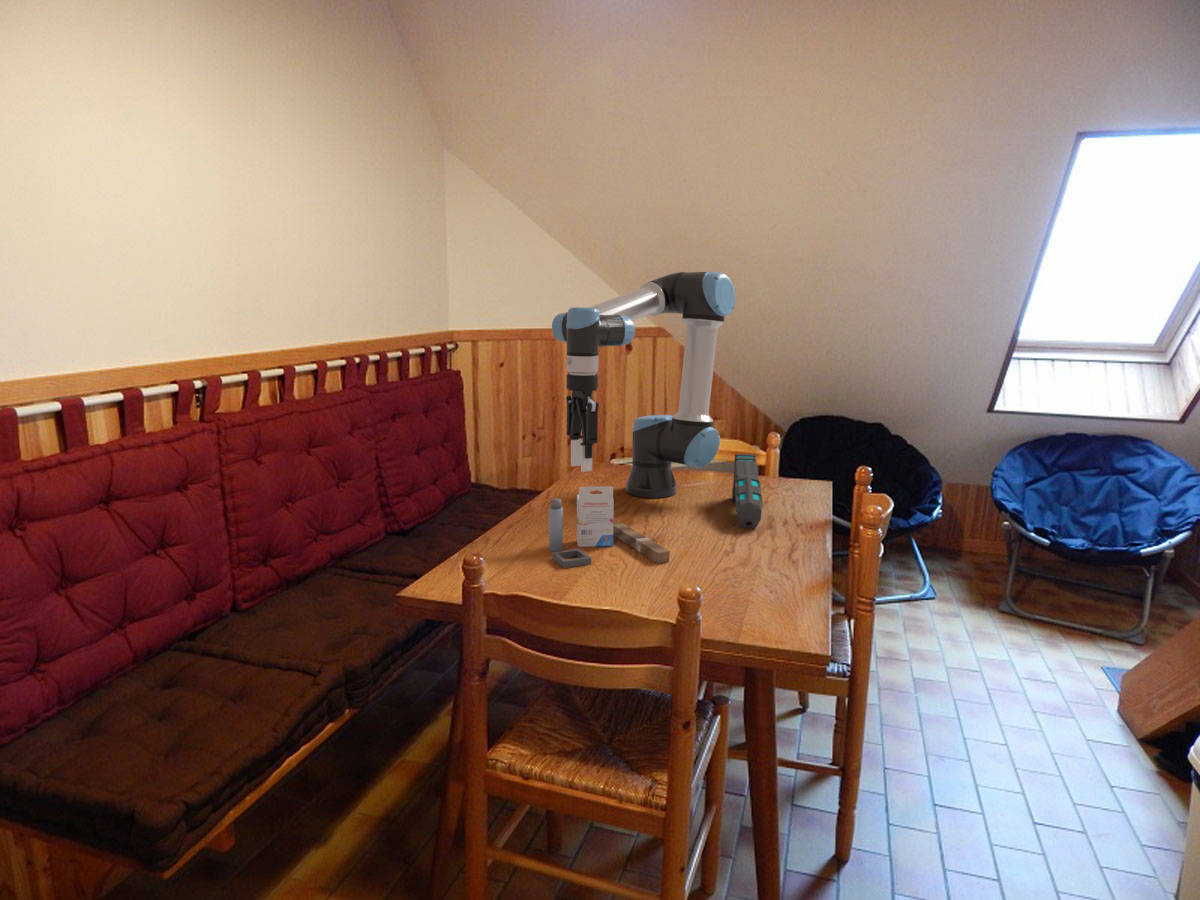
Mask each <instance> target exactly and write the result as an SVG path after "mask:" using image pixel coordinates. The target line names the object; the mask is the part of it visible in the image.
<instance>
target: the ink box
mask: <svg viewBox="0 0 1200 900" xmlns="http://www.w3.org/2000/svg"><path fill="white" fill-rule="evenodd" d="M595 491H597V492H601V493H591V492H595ZM614 503H615V501H614V487H613V486H612V485H611V486H606V485H605V486H602V485H601V486H580V487H579V488H578V494H576V543H577V547H579V548H583V547H584V548H585V547H586V548H587V547H592V548H594V547H613V546H614V535H613V522H614V506H615V505H614Z"/></svg>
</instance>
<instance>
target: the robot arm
mask: <svg viewBox="0 0 1200 900" xmlns="http://www.w3.org/2000/svg"><path fill="white" fill-rule="evenodd" d="M735 304H736V291H735V287H734V284H733V283H732V280H731V279H730V278H729V276H728V275H726V274H725V273H723V272H715V271H692V272H691V271H678V272H674V273H670V274H667V275H662V276H659V278H655V279H653V280H650V281H647V282H645V283H643V284H642V285H641V286H640V288H639V289H638V288H637V289H636V290H633V291H631V292H628V293H625V294H622V295H620V296H617V297H614V298H610V299H608V300H605V301H603V302H600V303H597V304H594V305H592V306H588V307H585V306H584V307H582V306H581V307H570V308H568V310H567V312H560V313H558V314H557V315H555V316H554V318H553V319H552V323H551V332H552V335H553V337H554V338H555V339H556V340H557V341H558V342H562V343H566V359H565V361H564V362H565V364H566V371H567V373H568V374H566V383H565V384H566V389H567V390H569V391H571V395H567V396H566V398H565V400H566V435H567V436H569V440H570V467H579V466H580V472H581V473H583V472H584V473H585V472H592V471H593V453H594V452H593V450H594V447H593V445H594V444H595V445H596V444H598V439H599V438H598V435H599V433H598V432H599V431H598V428H599V427H598V425H599V424H598V417H599V416H598V413H599V406H600V405H599V402H598V401H596V402H594V397H593V391H597V390H598V388H599V375H598V374H597V373H598V372H599V348H602V347H621V346H625V345H629V344H630V343H631V342H632V341H633V339H634V338H635V335H636V333H635V331H636V330H635V329H636V327H635V323H634V321H636V320H637V321H638V320H639V319H641V318H644V317H647V316H652V317H654V316H659V315H661V314H662V315H663V314H681V315H682V318H681V319H682V321H683V323H684V324H685V326H686V334H685V340H684V341H685V343H684V344H685V345H684V353H683V361H682V362H683V364H682V371H681V383H680V390H679V392H680V393H679V402H678V410H677V411H676V413H675V414H674V415H671V414H655V415H654V414H652V415H645V416H644V415H643V416H639V417H637V418H635V420H634V422H633V428H632V457H631V458H632V459H631V460H632V464H631V469H630V470H629V471H630V472H629V475H628V476H627V481H626V483H625V492H626V493H627V494H628V495H631V496H635V497H639V498H647V499H648V498H649V499H650V498H651V499H659V498H668V497H672V496H674V495H675V494H677V483H676V480H675V475H674V471H673V469H672V464H673V463H675V464H679V465H684V466H686V467H689V468H690V467H694V468H704V467H707V466H708V465H709V464H710V463H712V461H713V460H714V459H715V457H716V455H717V454H718V451H719V448H720V444H721V437H720V435H719V431H718V430H717V429H716V428H714V419H713V418H712V417H711V416H710V413H709V412H710V405H711V397H712V396H711V394H712V388H713V386H712V385H713V384H712V383H713V377H714V367H715V357H716V350H717V349H716V348H717V341H718V330H719V328H720V327H721V326H723V324H724V323H725V318H726V317H727V316H729V315H730V314H731V313H733V309H734V308H735Z"/></svg>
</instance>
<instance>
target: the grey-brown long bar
mask: <svg viewBox="0 0 1200 900" xmlns="http://www.w3.org/2000/svg"><path fill="white" fill-rule="evenodd" d="M613 537H616V538H617V539H619V540H620V541H622V542H623V543H625V544H626V545H628V546H630V547H631V548H632V549H634V550H636V551H637V552H639V553H640V554H642V555H643V556H645V557H646V558H648V559H650V560H651V561H652V562H654V563H656V565H657V564H662V563H670V551H669V549H667V548H665V547H663V546H662V545H660V544H658V543H656V542H655V541H653V539H652V538H649V537H647V536H645V535H643V534H642V533H640V532H638V531H637V530H635V529H634V528H632V527H630V526H628V525H627V524H625V523H623V522H622V521H615V522H614V521H613Z"/></svg>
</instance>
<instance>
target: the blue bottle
mask: <svg viewBox="0 0 1200 900" xmlns="http://www.w3.org/2000/svg"><path fill="white" fill-rule="evenodd" d="M548 539H549V540H548V549H549V551H550V552H559V551H564V550H563V549H564V546H563V545H564V541H563V539H564V508H563V506H562V499H561V498H558V497H557V498H556V497H554V498H551V499H550V507H549V508H548Z"/></svg>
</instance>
